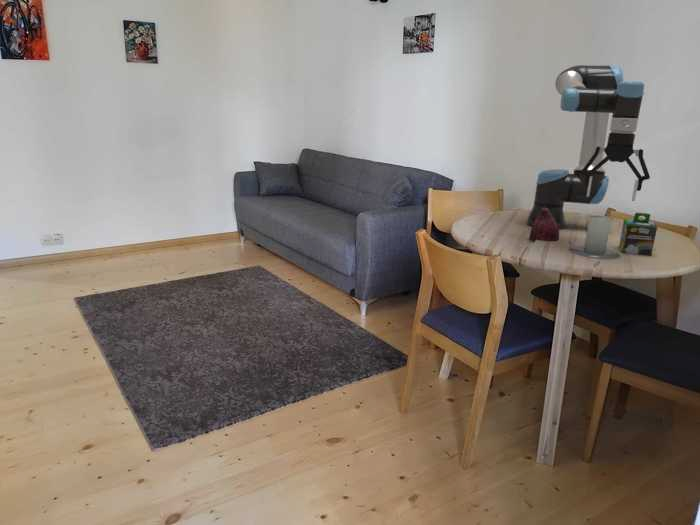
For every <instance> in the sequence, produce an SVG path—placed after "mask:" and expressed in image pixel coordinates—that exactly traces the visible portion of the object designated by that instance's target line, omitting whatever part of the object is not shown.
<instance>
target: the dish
mask: <svg viewBox="0 0 700 525" xmlns="http://www.w3.org/2000/svg"><path fill="white" fill-rule="evenodd" d="M584 247H585V245H579V246H578V245H576V246H570V247H569V248H568V251H570V253H573V254H574V255H577V256H579V257H580V256H581V257H586V258H590V259H596V260H597V259H598V260H616V259H617V260H618V259H620V258H621V255H620V254H619V253H618V252H616V251H613V250H610V249H608V248H606V251H605V254H604V255H593V254H588V253H585V252H584Z"/></svg>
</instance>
